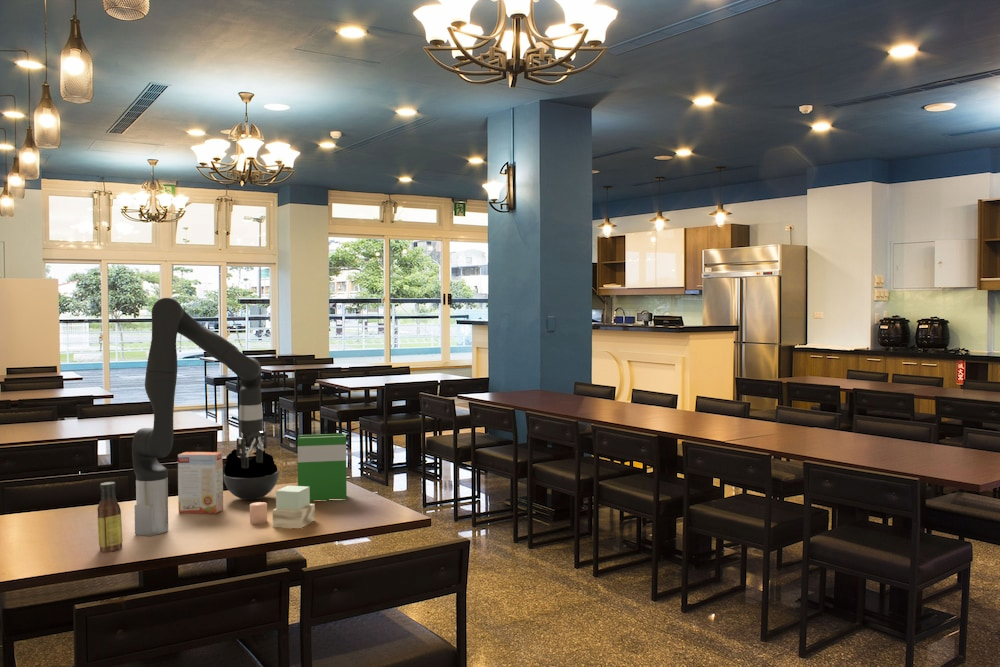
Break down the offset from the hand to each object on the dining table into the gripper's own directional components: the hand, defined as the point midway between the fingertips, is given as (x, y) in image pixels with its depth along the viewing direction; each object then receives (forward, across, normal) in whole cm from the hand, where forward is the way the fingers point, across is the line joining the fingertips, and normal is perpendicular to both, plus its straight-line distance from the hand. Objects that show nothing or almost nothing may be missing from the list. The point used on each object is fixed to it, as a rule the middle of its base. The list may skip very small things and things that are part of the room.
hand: (252, 465), depth 256 cm
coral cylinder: (+19, -1, -3) cm, 19 cm away
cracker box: (+19, +6, +25) cm, 32 cm away
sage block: (+13, -1, -15) cm, 20 cm away
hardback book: (+20, +33, -8) cm, 39 cm away
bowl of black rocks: (+20, +26, +18) cm, 37 cm away
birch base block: (+19, -1, -16) cm, 25 cm away
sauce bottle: (+18, -40, +23) cm, 49 cm away
